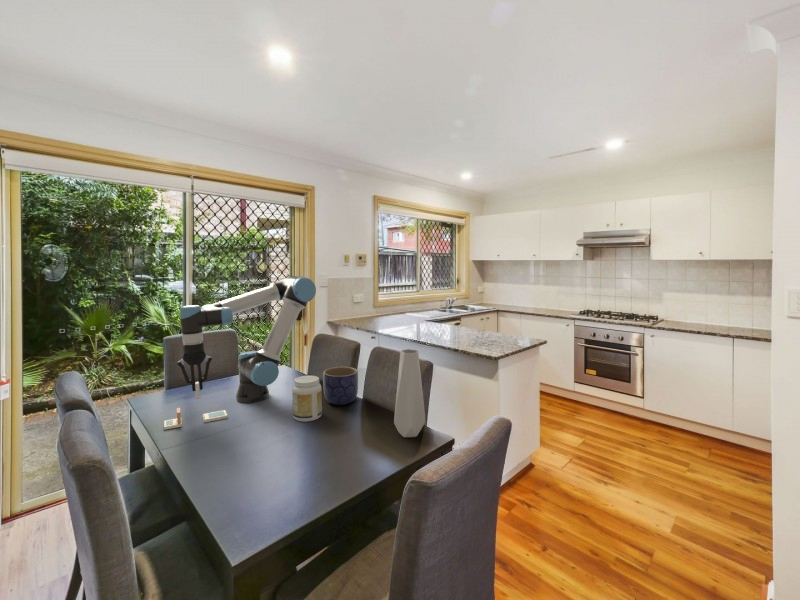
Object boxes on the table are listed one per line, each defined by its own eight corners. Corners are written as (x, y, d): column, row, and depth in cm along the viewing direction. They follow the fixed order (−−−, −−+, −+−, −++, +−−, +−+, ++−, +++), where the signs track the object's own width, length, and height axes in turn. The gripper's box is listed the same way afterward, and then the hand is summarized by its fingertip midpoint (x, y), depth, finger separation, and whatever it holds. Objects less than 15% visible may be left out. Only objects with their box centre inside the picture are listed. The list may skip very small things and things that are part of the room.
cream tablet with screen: (225, 412, 167) (225, 409, 167) (227, 418, 161) (227, 415, 161) (202, 416, 162) (202, 413, 162) (203, 422, 156) (203, 419, 156)
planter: (365, 399, 183) (365, 369, 182) (342, 410, 170) (342, 378, 168) (339, 393, 192) (339, 364, 191) (316, 403, 178) (315, 372, 177)
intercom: (181, 420, 158) (180, 407, 157) (181, 426, 152) (181, 412, 151) (164, 423, 155) (163, 409, 154) (164, 429, 149) (163, 415, 148)
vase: (388, 429, 150) (388, 349, 147) (414, 425, 154) (415, 346, 151) (400, 443, 139) (400, 356, 136) (428, 437, 143) (429, 353, 140)
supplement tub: (312, 409, 171) (311, 372, 169) (327, 416, 162) (327, 378, 161) (287, 416, 162) (286, 378, 161) (302, 425, 154) (301, 385, 152)
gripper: (210, 339, 161) (214, 391, 164) (174, 343, 154) (180, 398, 157) (211, 342, 155) (216, 397, 158) (175, 346, 148) (180, 404, 151)
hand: (198, 397), depth 157 cm, fingers closed
